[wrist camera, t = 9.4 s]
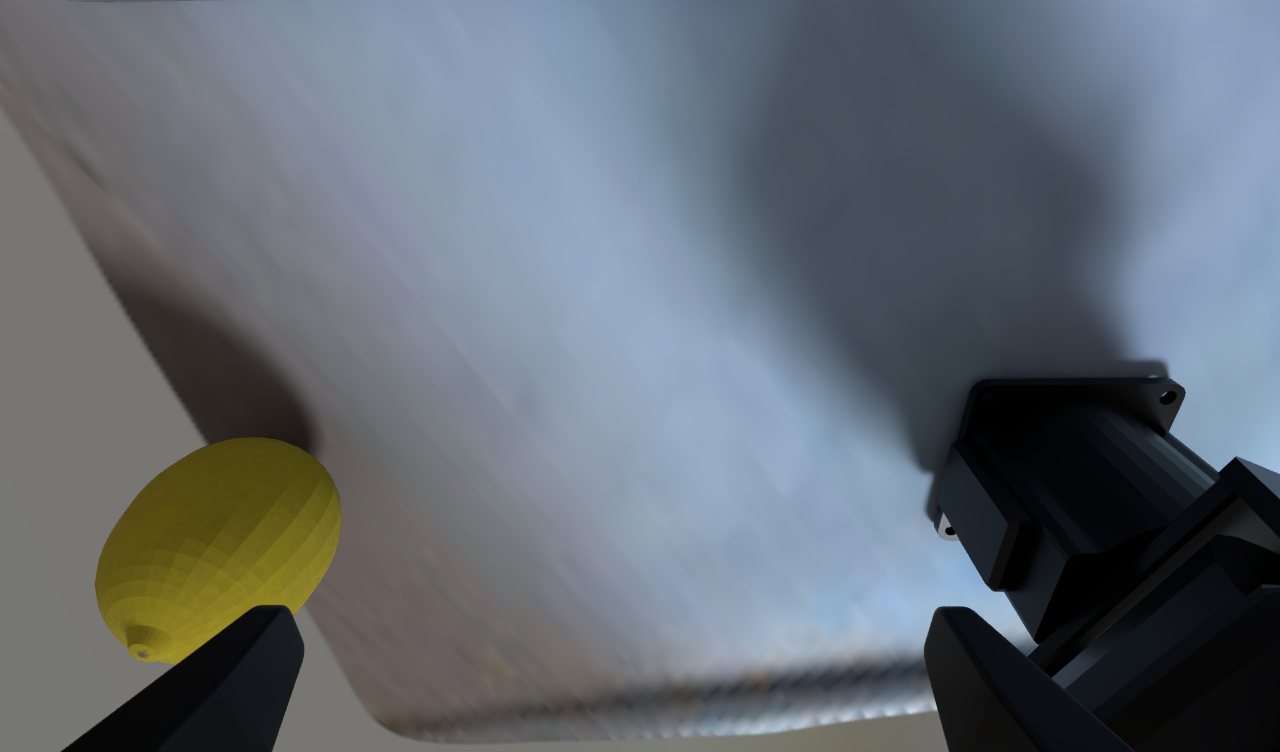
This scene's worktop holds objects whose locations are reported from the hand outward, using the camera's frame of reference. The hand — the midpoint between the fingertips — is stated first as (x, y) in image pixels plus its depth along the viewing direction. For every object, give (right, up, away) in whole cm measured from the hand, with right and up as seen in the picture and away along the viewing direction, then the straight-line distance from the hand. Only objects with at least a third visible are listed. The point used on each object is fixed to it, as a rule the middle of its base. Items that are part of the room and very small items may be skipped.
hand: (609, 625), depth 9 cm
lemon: (-12, +1, +14) cm, 18 cm away
